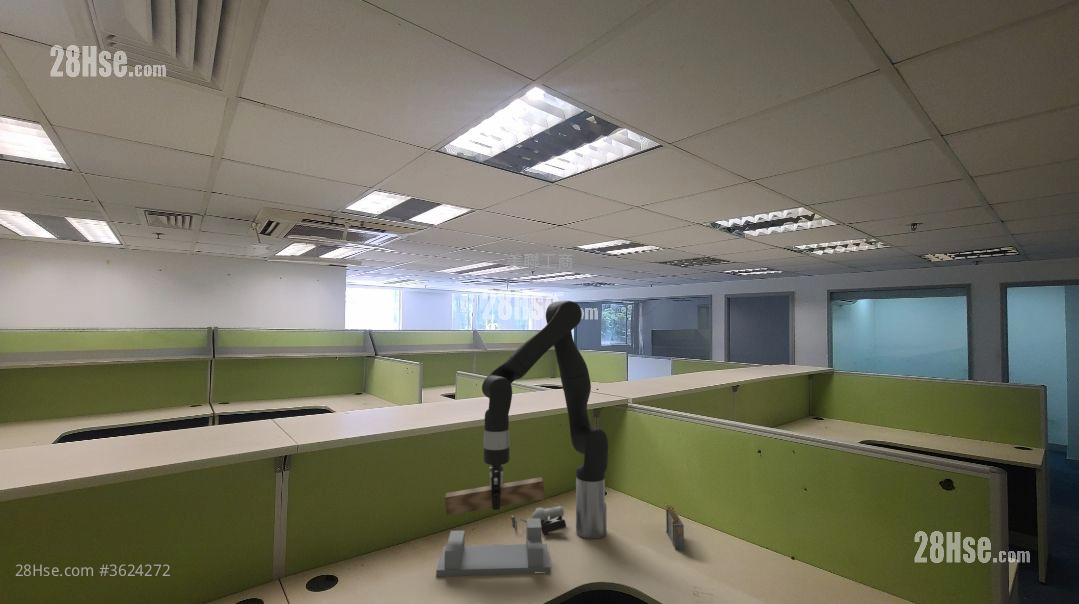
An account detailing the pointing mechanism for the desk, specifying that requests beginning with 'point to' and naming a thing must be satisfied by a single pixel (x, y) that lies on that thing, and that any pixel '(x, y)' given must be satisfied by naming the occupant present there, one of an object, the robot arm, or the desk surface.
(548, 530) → the clip-on lamp
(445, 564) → the notch rack
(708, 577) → the desk surface
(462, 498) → the wooden plank
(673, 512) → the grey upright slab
